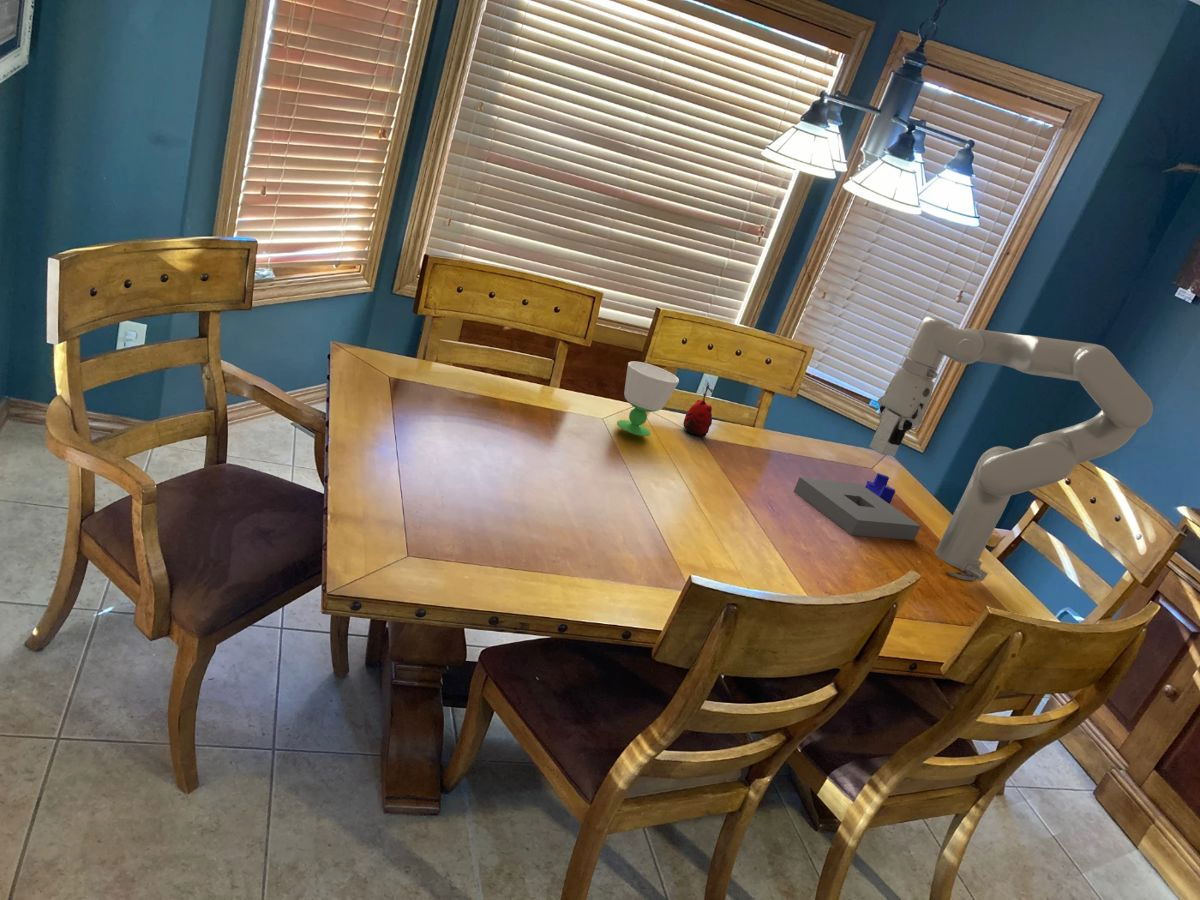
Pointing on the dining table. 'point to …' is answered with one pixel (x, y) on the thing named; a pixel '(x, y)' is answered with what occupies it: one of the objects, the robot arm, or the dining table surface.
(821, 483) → the well block
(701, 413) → the red fruit with stem
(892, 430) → the metal bar
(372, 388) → the dining table surface
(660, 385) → the cup
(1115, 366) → the robot arm
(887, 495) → the blue stepped block
